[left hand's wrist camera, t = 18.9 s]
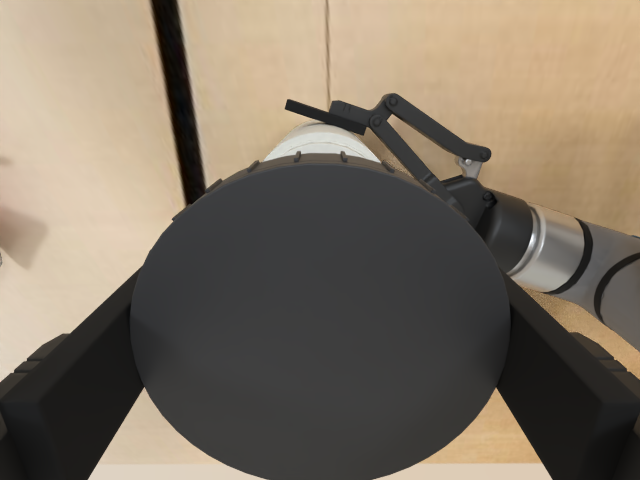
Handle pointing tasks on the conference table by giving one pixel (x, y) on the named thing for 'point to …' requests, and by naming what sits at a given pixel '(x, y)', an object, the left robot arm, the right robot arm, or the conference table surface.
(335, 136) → the jar
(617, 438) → the left robot arm
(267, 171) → the lid
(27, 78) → the conference table surface
